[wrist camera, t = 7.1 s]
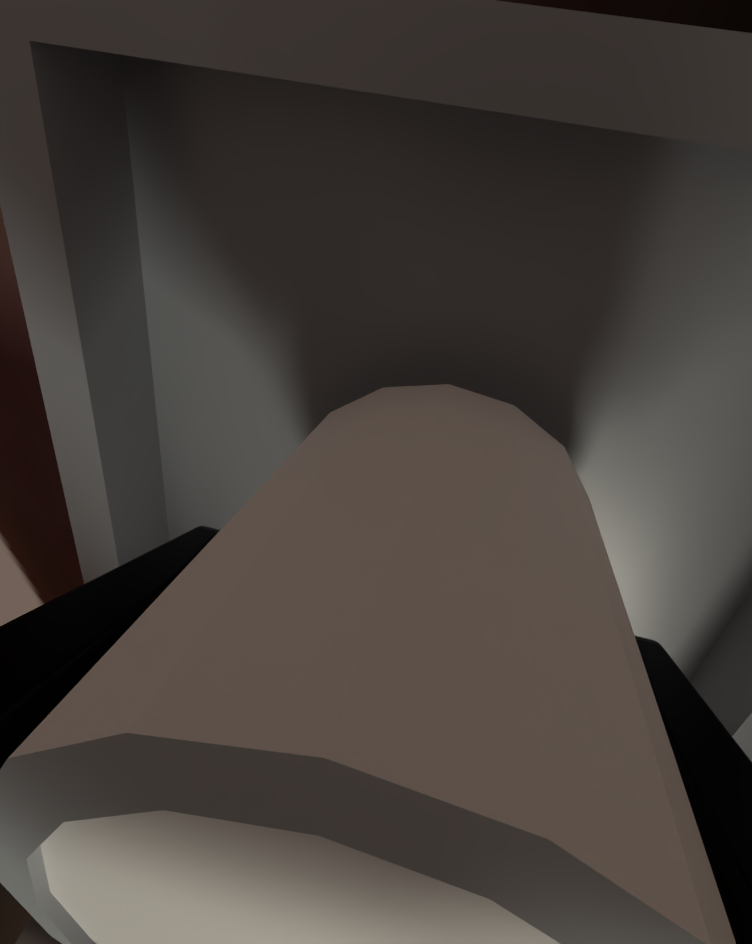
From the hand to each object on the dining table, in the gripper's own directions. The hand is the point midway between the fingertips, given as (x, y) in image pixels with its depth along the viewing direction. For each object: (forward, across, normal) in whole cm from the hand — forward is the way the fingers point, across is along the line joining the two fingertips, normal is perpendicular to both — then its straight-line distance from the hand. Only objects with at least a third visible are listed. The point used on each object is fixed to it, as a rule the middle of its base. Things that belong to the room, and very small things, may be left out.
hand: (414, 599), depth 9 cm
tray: (+4, 0, 0) cm, 5 cm away
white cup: (+2, 0, 0) cm, 2 cm away
